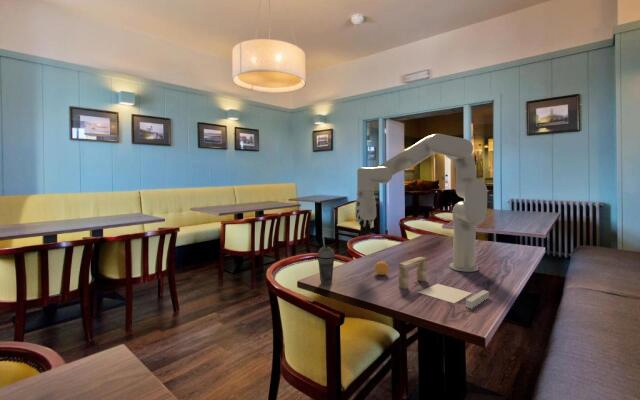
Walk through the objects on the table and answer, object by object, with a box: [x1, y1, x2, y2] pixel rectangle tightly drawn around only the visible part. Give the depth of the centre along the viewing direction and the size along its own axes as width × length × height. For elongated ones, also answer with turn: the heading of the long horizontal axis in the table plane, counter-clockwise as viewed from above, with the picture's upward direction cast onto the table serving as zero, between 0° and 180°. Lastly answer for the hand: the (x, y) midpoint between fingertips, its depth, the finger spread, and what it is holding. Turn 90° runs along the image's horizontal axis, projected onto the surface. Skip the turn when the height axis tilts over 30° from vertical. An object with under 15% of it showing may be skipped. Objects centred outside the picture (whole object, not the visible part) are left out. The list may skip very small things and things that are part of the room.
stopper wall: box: [465, 289, 490, 310], centre depth 114 cm, size 14×2×2 cm, turn 131°
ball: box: [374, 260, 390, 276], centre depth 146 cm, size 6×6×6 cm
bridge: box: [398, 256, 427, 290], centre depth 134 cm, size 3×15×10 cm, turn 131°
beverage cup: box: [317, 235, 336, 287], centre depth 134 cm, size 7×7×20 cm
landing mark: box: [418, 283, 473, 304], centre depth 124 cm, size 14×14×1 cm
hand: (365, 233), depth 152 cm, fingers closed
